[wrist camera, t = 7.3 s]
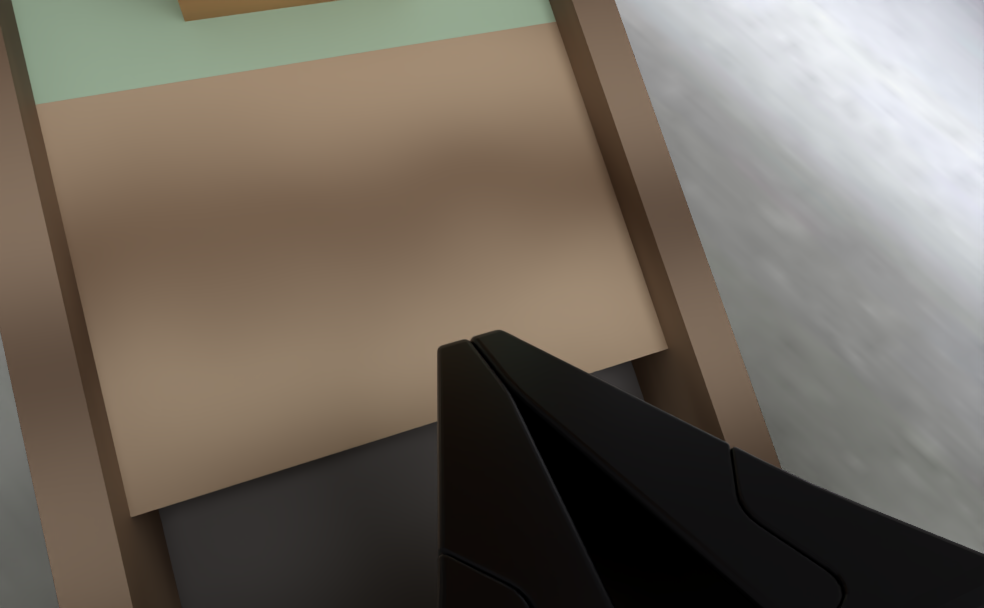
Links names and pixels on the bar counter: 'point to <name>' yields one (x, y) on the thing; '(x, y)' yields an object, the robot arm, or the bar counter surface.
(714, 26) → the bar counter surface
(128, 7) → the pad
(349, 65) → the tray box
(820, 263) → the bar counter surface
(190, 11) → the block
